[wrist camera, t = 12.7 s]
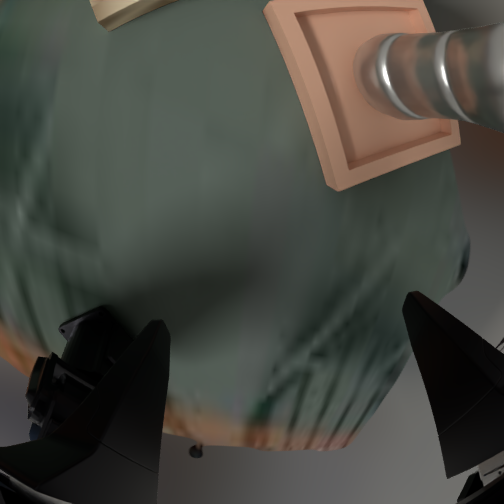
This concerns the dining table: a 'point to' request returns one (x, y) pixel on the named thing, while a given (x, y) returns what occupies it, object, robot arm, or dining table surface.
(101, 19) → the collar
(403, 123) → the tray
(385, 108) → the plastic bottle
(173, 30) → the dining table surface
